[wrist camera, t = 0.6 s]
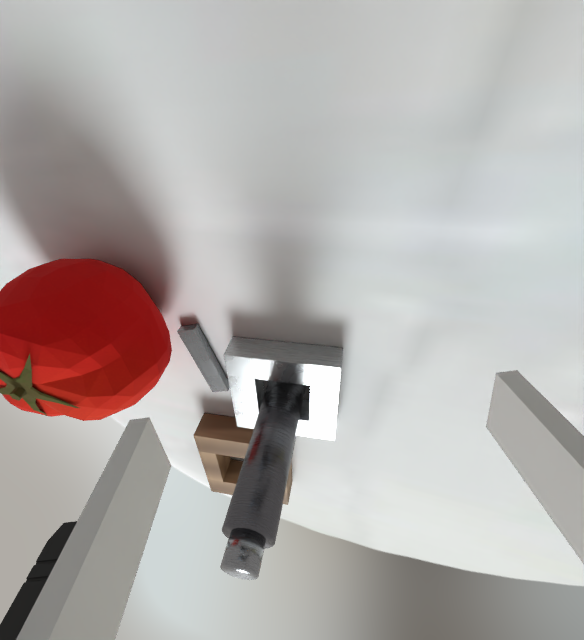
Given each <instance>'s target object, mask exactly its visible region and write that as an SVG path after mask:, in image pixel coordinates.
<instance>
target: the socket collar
mask: <svg viewBox="0 0 584 640" xmlns="http://www.w3.org/2000/svg"><path fill="white" fill-rule="evenodd" d="M342 352H343V348H340V347H330V346H320V345H310V344H300V343H291V342H281V341H271V340H261V339H251V338H241V337H232V339H231V341H230V343H229V345H228V347H227V349H226V351H225V353H224V360H225V365H226V370H227V375H228V381H229V386H230V391H231V396H232V401H233V407H234V412H235V417H236V422H237V427H243V428H250V429H254V426H255V423H256V420H257V417H258V414H259V410H260V407H261V404H262V401H263V398H264V394H265V390H264V380H269V381H277V382H285V383H294V384H302V385H310V401H309V400H303V403H302V408H301V413H300V418H299V423H298V428H297V434H296V435H299V436H306V437H313V438H320V439H327V440H334V441H335V430H336V420H337V408H338V397H339V386H340V375H341V364H342Z"/></svg>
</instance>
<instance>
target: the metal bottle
mask: <svg viewBox="0 0 584 640" xmlns="http://www.w3.org/2000/svg"><path fill="white" fill-rule="evenodd" d="M305 388H306V385H302V384H294V383H285V382H277V381H269V382H268V385H267V388H266V391H265V394H264V398H263V401H262V404H261V407H260V410H259V414H258V417H257V420H256V423H255V426H254V429H253V433H252V436H251V439H250V442H249V445H248V448H247V452H246V455H245V458H244V461H243V464H242V467H241V471H240V474H239V477H238V480H237V483H236V486H235V490H234V493H233V496H232V499H231V502H230V506H229V509H228V512H227V515H226V518H225V521H224V525H223V528H222V532H223V533H224V535H225V536H226V537H227V538H229V539H228V543H227V546H226V550H225V553H224V557H223V560H222V563H221V569H222V570H223V571H224V572H226V573H227V574H229V575H231V576H234V577H237V578H241V579H247V580H254V579H257V578H258V576H259V571H260V567H261V562H262V557H263V553H264V548H270V547H272V546H273V545H274V544H275V540H276V535H277V530H278V525H279V520H280V515H281V510H282V505H283V500H284V495H285V489H286V484H287V479H288V474H289V469H290V464H291V459H292V454H293V449H294V444H295V439H296V434H297V428H298V423H299V418H300V413H301V408H302V403H303V398H304V393H305Z"/></svg>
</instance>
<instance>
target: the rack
mask: <svg viewBox="0 0 584 640" xmlns="http://www.w3.org/2000/svg"><path fill="white" fill-rule="evenodd" d="M252 433H253V429H250V428H243V427H237V422H236V417H229V416H222V415H215V414H207V413H204V414H203V417H202V419H201V421H200V423H199V425H198V427H197V429H196V431H195V434H194V438H195V441H196V444H197V448H198V451H199V454H200V457H201V460H202V463H203V466H204V469H205V472H206V475H207V478H208V482H209V485H210V488H211V490H212V491H213V492H219V493H225V494H230V495H233V493H234V490H235V486H236V483H237V480H238V477H239V474H240V471H241V467H242V464H243V461H238V460H232V459H231V458H230V456H231V457H238V458H245V455H246V452H247V448H248V445H249V442H250V439H251V436H252ZM291 485H292V464H290V469H289V474H288V479H287V484H286V489H285V495H284V500H283V504H287V505H288V502H289V496H290V491H291Z"/></svg>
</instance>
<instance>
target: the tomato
mask: <svg viewBox="0 0 584 640" xmlns="http://www.w3.org/2000/svg"><path fill="white" fill-rule="evenodd" d="M171 351H172V349H171V342H170V335H169V330H168V328H167V326H166V323H165V321H164V318H163V316H162V314H161V313H160V311H159V310H158V308H157V307H156V305H155V304H154V302H153V301H152V299H151V298H150V296H149V295H148V293H147V292H146V290H145V289H144V287H143V286H142V285H141V283H140V282H138V281H137V280H136V279H135V278H133V277H132V276H131V275H130V274H128V273H127V272H126V271H125V270H123V269H121V268H118V267H116V266H113V265H111V264H108V263H105V262H103V261H100V260H95V259H59V260H55V261H52V262H49V263H46V264H43V265H40V266H37V267H34V268H31V269H29V270H27V271H26V272H24V273H22V274H21V275H19V276H18V277H16V278H15V279H13V280H12V281H10V282H9V283H7V284H6V285H5V286H4V287H3V289H2V290H1V291H0V393H1V394H2V395H3V396H4V397H5V399H6V400H7V401H9V402H10V403H11V404H13V405H14V406H16V407H17V408H19V409H21V410H24V411H29V412H34V413H38V414H42V415H46V416H58V415H66V416H69V417H73V418H76V419H80V420H83V421H84V420H101V419H103V418H105V417H108V416H110V415H112V414H115V413H117V412H119V411H121V410H124V409H126V408H128V407H130V406H133V405H135V404H136V403H137V402H138V401H139V400H140V399H141V398H143V397H144V396H145V395H146V394H147V393H148V392H149V391H150V390H151V389H152V388H153V387H154V386H155V385H156V384H157V382H158V381H159V379H160V377H161V375H162V374H163V372H164V370H165V368H166V367H167V365H168V363H169V361H170V356H171Z"/></svg>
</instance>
